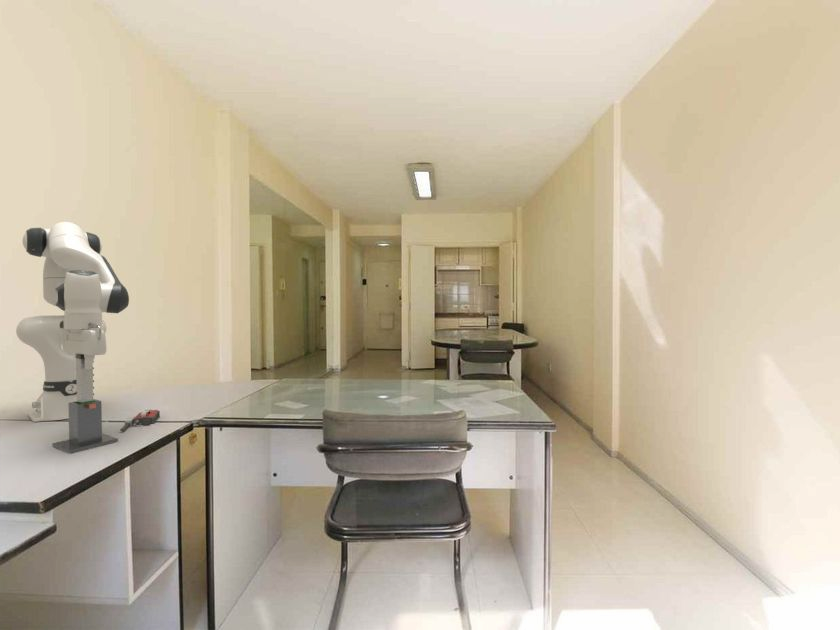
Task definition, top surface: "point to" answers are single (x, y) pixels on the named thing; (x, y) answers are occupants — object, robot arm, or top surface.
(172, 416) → the top surface
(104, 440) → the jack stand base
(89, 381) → the column
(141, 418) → the walkie-talkie
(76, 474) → the top surface
